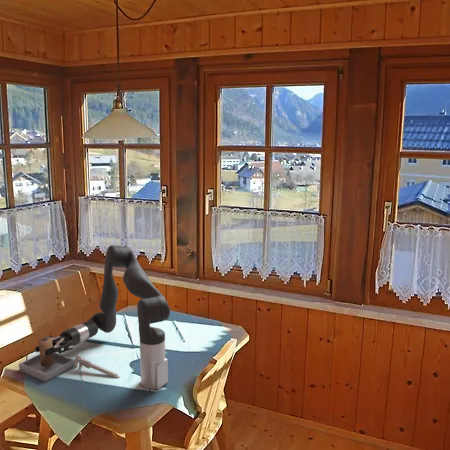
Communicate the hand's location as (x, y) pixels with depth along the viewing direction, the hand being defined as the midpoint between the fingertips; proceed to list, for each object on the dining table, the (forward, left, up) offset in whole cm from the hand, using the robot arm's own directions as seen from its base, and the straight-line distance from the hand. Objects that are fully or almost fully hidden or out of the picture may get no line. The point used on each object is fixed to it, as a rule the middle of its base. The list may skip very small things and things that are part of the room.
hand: (40, 351), depth 184 cm
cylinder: (0, -3, -6) cm, 7 cm away
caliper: (-19, -11, -9) cm, 23 cm away
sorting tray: (0, -3, -8) cm, 9 cm away
